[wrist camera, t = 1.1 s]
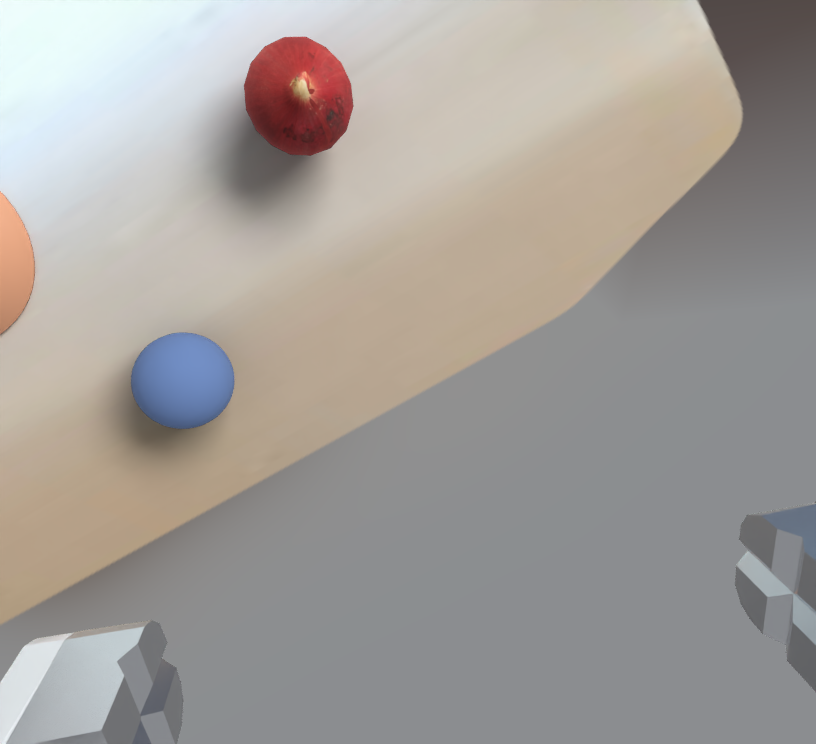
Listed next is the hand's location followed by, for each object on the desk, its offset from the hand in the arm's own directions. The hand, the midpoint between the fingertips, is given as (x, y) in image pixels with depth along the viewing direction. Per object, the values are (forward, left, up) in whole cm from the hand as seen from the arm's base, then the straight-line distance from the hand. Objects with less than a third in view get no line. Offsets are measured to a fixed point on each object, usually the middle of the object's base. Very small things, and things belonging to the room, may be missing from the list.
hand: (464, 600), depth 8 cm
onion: (-4, +8, -33) cm, 34 cm away
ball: (-3, -10, -30) cm, 32 cm away
